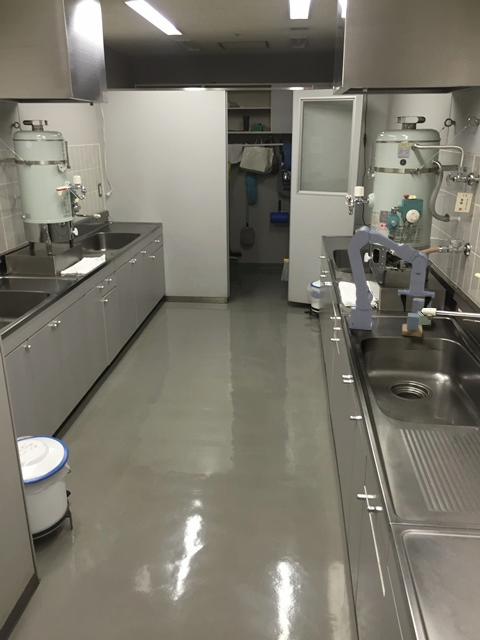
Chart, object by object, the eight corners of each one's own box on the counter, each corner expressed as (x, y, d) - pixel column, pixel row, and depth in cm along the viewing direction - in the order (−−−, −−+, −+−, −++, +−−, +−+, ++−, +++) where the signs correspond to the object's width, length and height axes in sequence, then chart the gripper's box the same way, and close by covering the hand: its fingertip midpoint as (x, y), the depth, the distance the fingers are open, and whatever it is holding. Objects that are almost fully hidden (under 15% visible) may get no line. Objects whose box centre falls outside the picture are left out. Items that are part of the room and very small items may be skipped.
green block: (418, 325, 232) (419, 315, 230) (415, 320, 237) (417, 310, 235) (430, 326, 231) (431, 315, 229) (427, 321, 237) (428, 310, 235)
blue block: (406, 329, 223) (408, 316, 220) (406, 325, 227) (408, 312, 224) (417, 330, 221) (419, 317, 219) (417, 326, 225) (419, 313, 223)
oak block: (402, 335, 222) (402, 330, 221) (402, 328, 229) (402, 323, 229) (421, 336, 220) (422, 332, 219) (421, 329, 227) (421, 325, 226)
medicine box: (429, 317, 241) (431, 299, 238) (428, 320, 237) (430, 302, 234) (412, 314, 244) (413, 297, 241) (410, 318, 240) (412, 300, 237)
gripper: (399, 283, 214) (396, 314, 220) (436, 285, 211) (432, 317, 216) (399, 278, 221) (396, 308, 226) (435, 280, 217) (431, 311, 222)
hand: (413, 312), depth 221 cm, fingers open, 7 cm apart
